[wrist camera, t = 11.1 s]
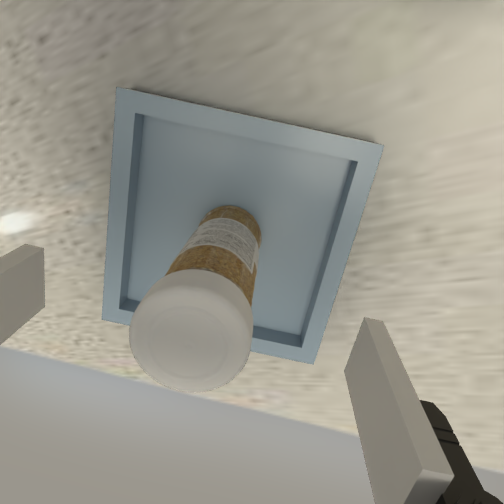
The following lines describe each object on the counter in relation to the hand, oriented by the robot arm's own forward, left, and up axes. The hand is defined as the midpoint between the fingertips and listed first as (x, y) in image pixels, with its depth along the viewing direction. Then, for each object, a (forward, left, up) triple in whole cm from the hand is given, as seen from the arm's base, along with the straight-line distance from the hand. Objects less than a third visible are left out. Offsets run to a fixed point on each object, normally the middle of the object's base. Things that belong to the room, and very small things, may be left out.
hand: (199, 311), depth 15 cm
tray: (0, 0, -12) cm, 12 cm away
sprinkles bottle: (0, 0, -12) cm, 12 cm away
